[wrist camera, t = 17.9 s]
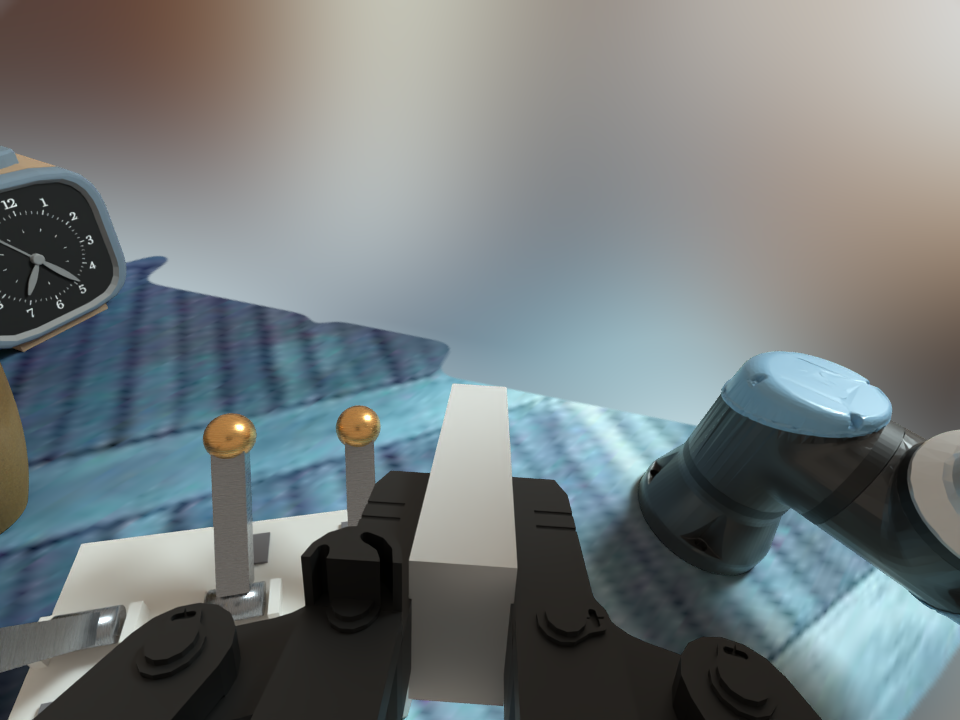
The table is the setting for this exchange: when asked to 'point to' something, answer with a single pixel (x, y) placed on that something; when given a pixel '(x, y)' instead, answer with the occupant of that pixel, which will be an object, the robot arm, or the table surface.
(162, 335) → the table surface
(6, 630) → the lever
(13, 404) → the plant pot
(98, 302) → the alarm clock
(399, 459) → the table surface
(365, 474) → the lever
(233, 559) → the lever middle
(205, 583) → the switch box
